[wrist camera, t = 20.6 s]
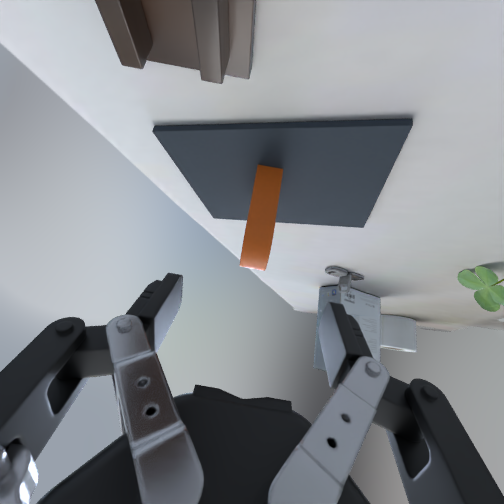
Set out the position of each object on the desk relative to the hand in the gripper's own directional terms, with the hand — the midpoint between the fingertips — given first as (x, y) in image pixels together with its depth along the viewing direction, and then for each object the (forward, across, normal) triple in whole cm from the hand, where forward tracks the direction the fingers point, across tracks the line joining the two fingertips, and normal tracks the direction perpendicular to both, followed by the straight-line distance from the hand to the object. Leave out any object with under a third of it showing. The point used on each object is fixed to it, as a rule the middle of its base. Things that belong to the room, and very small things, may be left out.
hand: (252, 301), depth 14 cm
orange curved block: (+15, 0, -3) cm, 16 cm away
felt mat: (+16, -1, -3) cm, 17 cm away
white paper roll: (+68, -56, +48) cm, 100 cm away
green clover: (+26, -36, +6) cm, 45 cm away
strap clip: (+35, -19, +15) cm, 43 cm away
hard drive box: (+47, -27, +27) cm, 60 cm away
